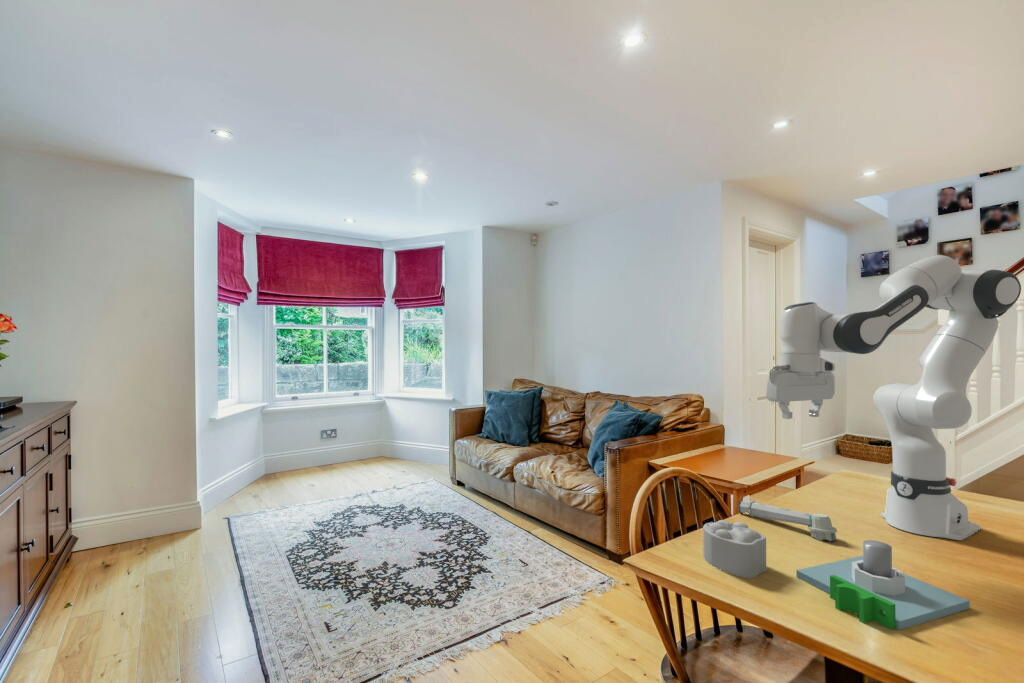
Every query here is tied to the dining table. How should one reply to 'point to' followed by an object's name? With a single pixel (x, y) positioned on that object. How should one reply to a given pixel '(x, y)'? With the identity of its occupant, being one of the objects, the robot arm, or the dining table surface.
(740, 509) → the angled head handheld tool
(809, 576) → the duct base
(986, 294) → the robot arm
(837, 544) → the dining table surface
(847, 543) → the dining table surface
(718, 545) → the lumpy-topped squat cylinder
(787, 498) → the dining table surface
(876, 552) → the gray domed peg
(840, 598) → the pipe clamp
